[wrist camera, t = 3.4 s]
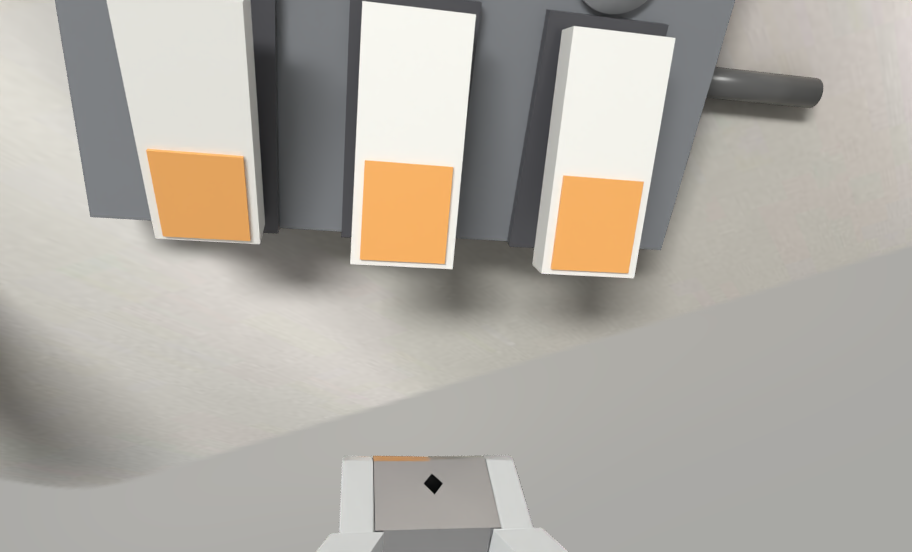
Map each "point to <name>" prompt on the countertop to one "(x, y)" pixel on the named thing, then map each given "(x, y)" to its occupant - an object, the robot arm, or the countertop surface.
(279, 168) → the rocker switch panel
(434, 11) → the rocker middle
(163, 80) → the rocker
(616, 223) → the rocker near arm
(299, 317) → the countertop surface
